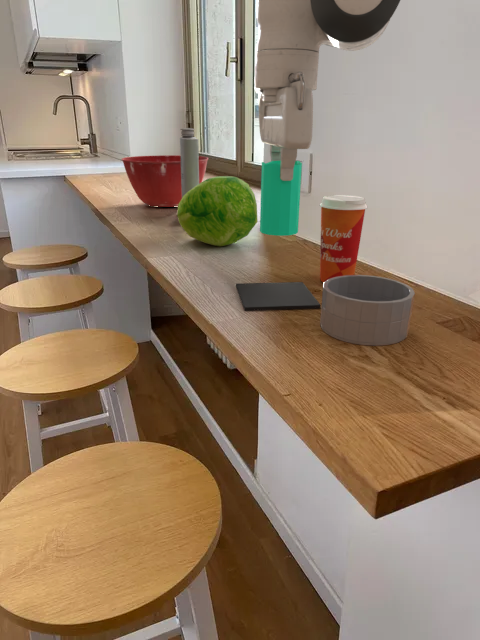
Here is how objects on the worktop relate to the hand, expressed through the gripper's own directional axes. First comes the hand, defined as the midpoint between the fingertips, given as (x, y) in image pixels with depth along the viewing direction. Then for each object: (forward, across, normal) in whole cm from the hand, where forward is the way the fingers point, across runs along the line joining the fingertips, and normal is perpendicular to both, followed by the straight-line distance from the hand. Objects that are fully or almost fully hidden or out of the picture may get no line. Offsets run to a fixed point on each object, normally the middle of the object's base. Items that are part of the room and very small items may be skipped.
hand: (281, 177), depth 75 cm
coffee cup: (+19, +8, -13) cm, 25 cm away
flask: (+19, +67, +12) cm, 71 cm away
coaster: (+19, 0, 0) cm, 19 cm away
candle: (+8, 0, 0) cm, 8 cm away
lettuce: (+19, +38, +7) cm, 43 cm away
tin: (+19, -14, -10) cm, 26 cm away
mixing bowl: (+19, +96, +19) cm, 100 cm away
